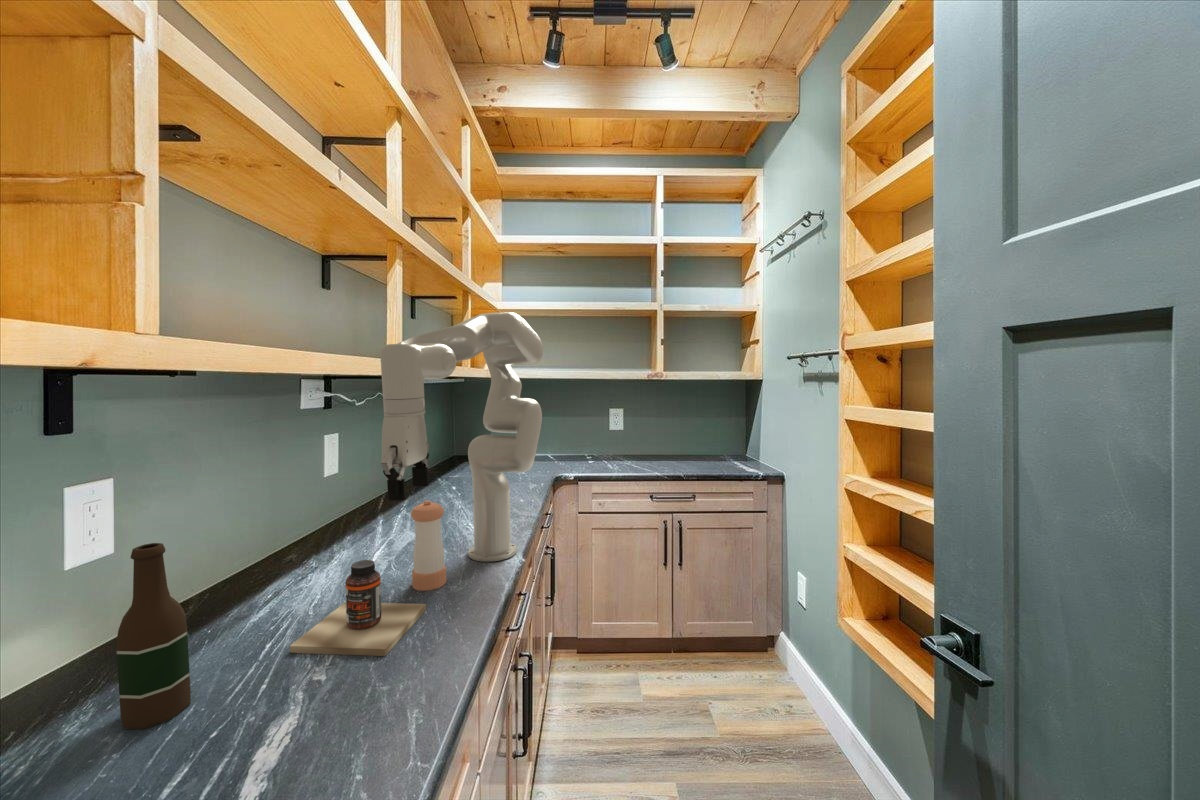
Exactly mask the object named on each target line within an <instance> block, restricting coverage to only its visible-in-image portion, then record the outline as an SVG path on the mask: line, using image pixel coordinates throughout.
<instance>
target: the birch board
mask: <svg viewBox="0 0 1200 800" xmlns="http://www.w3.org/2000/svg"><path fill="white" fill-rule="evenodd" d="M426 610H427V604H426V603H403V602H402V603H400V602H399V603H397V602H393V603H392V602H381V620H380V621H379V622H378V623H376V624H375V625H373V626H371V627H368V628H364V629H352V628H349V627H348V626H347V621H346V601H345V602H344V603H342V604H341V605H340V606H339V607H337V608H336V609H334V610H333V611H332V612H331V613H329V614H328V615H327V616H326V617H324V618H323V619H322V620H320V622H318V623H316V624H315V625H314V626H313V627H312V628H310V629H309V630H308V631H307V632H305V633H304V634H303V635H302V636H301V637H299V638H297V639H296V640H295V641H294V642H293V643H291V644H290V645H289V653H291V654H311V655H313V654H314V655H315V654H317V655H345V656H348V655H349V656H368V657H369V656H374V657H375V656H376V657H386V656H387V654H389V653H390V651H391V650H393V648H394V647H395V646H396V645H397V644H398V642H399V641H400V640H401V639H402V638H403V637H404V636H405V635H406V634H407V632H408V631H409V630H410V629H411V627H413V626H414V624H415V623H417V621H418V620H419V619H420V617H421V616H422V615H424V613H426Z"/></svg>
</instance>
